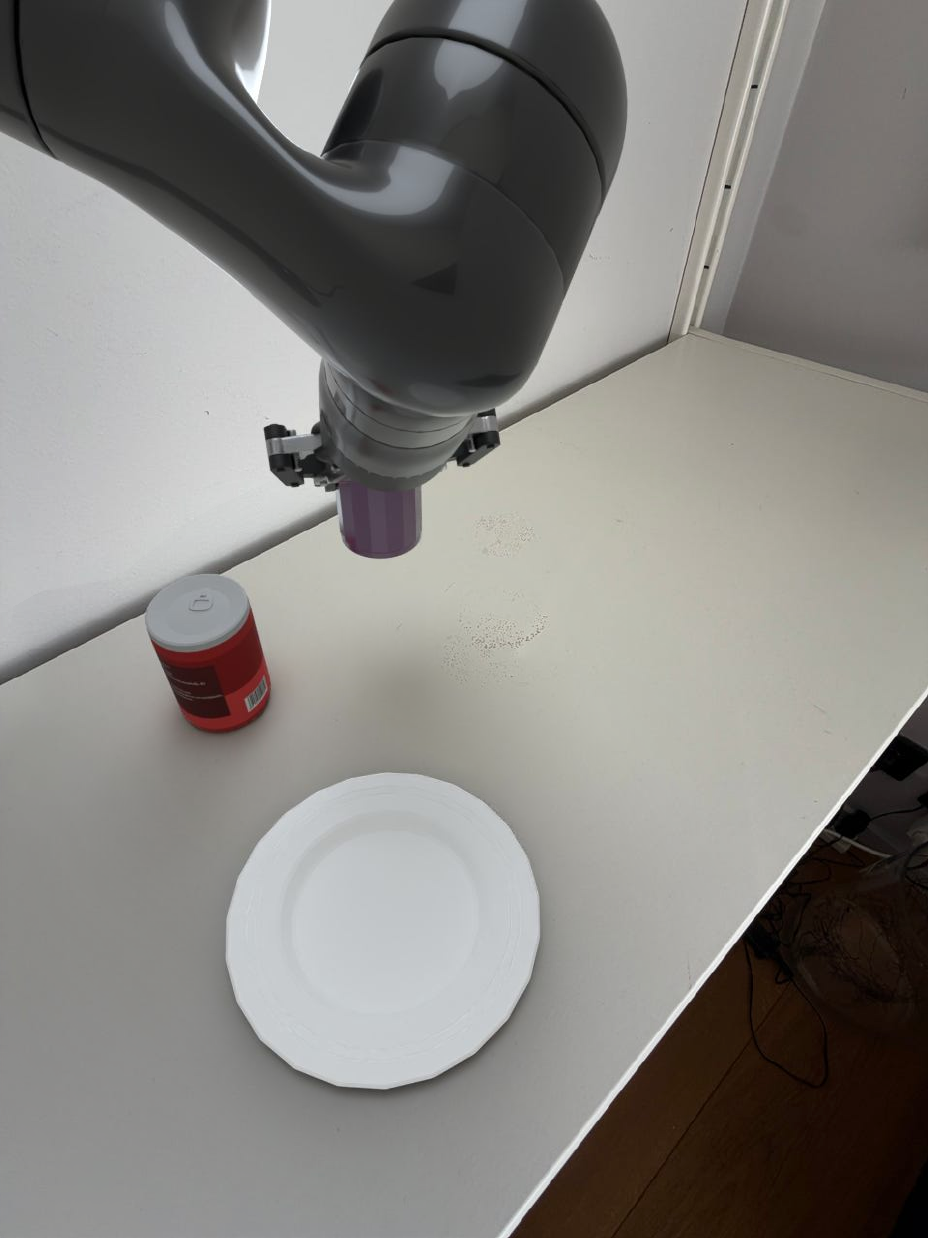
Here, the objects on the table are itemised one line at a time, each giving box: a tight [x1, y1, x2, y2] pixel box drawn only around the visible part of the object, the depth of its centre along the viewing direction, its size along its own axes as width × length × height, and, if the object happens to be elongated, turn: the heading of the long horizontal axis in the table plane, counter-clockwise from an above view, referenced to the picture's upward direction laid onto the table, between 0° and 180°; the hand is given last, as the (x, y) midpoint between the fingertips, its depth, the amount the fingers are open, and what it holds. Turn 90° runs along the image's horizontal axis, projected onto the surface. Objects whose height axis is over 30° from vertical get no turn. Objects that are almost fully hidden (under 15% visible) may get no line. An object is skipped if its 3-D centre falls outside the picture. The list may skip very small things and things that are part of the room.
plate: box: [225, 771, 541, 1091], centre depth 48 cm, size 21×21×2 cm
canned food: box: [144, 573, 272, 733], centre depth 58 cm, size 8×8×11 cm
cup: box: [334, 480, 423, 560], centre depth 50 cm, size 6×6×8 cm
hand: (374, 471), depth 51 cm, fingers closed on cup, 6 cm apart
